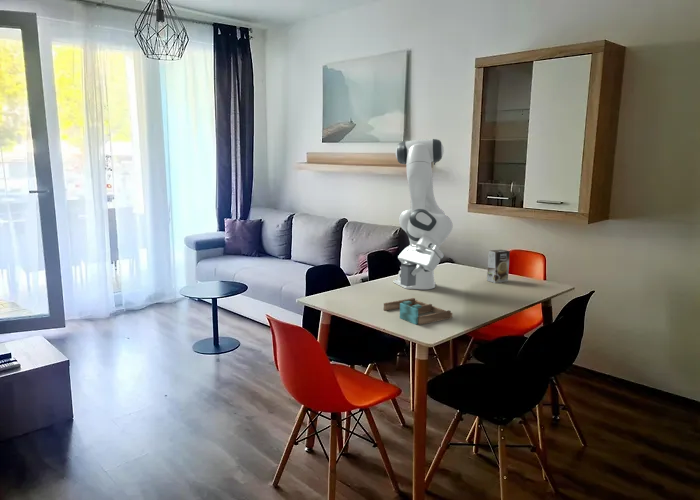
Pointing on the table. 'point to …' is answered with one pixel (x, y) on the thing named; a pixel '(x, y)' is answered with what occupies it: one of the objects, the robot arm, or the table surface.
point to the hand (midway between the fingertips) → (407, 273)
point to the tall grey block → (407, 274)
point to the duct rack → (417, 311)
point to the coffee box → (498, 266)
